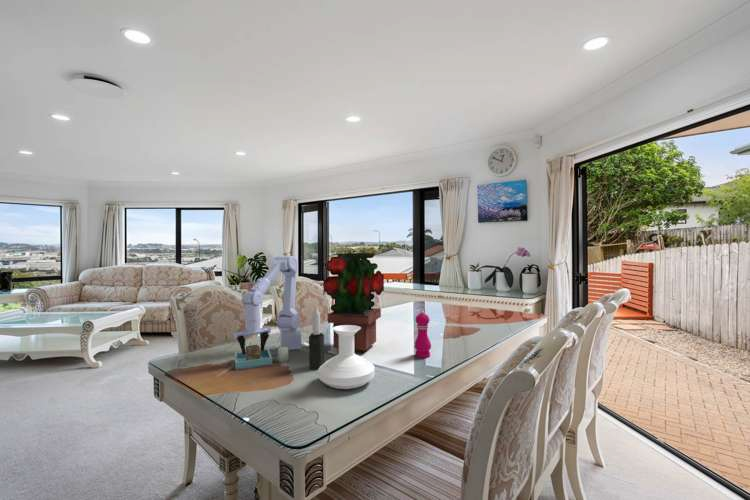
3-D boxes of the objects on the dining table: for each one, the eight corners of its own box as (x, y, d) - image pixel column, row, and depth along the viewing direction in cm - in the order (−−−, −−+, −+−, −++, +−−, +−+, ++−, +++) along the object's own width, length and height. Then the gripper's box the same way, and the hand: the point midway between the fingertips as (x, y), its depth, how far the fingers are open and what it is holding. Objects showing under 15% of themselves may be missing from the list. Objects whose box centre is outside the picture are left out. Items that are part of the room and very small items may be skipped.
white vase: (346, 368, 138) (345, 320, 138) (386, 380, 125) (385, 326, 125) (306, 384, 123) (305, 329, 123) (347, 399, 110) (347, 338, 110)
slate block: (274, 352, 161) (274, 346, 161) (275, 355, 157) (275, 348, 157) (265, 353, 159) (265, 347, 159) (265, 356, 156) (265, 349, 156)
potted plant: (324, 353, 158) (323, 254, 158) (342, 340, 180) (341, 253, 179) (370, 357, 152) (369, 253, 152) (384, 343, 173) (383, 252, 173)
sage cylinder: (287, 357, 153) (287, 346, 153) (289, 360, 148) (289, 349, 148) (277, 359, 151) (276, 347, 151) (278, 362, 147) (278, 350, 147)
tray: (268, 355, 156) (268, 348, 156) (272, 365, 143) (272, 357, 143) (234, 359, 151) (234, 352, 150) (235, 370, 138) (235, 362, 138)
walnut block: (256, 358, 150) (256, 344, 150) (259, 361, 146) (259, 346, 146) (245, 360, 148) (245, 346, 148) (248, 363, 144) (248, 348, 144)
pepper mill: (430, 353, 157) (430, 308, 157) (431, 358, 150) (431, 311, 149) (414, 353, 157) (414, 308, 157) (414, 358, 150) (414, 311, 150)
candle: (320, 369, 137) (319, 306, 137) (308, 369, 138) (307, 305, 138) (325, 365, 142) (324, 304, 142) (313, 364, 143) (312, 303, 143)
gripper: (266, 316, 154) (267, 347, 154) (232, 320, 146) (232, 353, 146) (272, 318, 148) (272, 350, 148) (236, 323, 140) (236, 357, 140)
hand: (253, 352), depth 147 cm, fingers open, 7 cm apart
